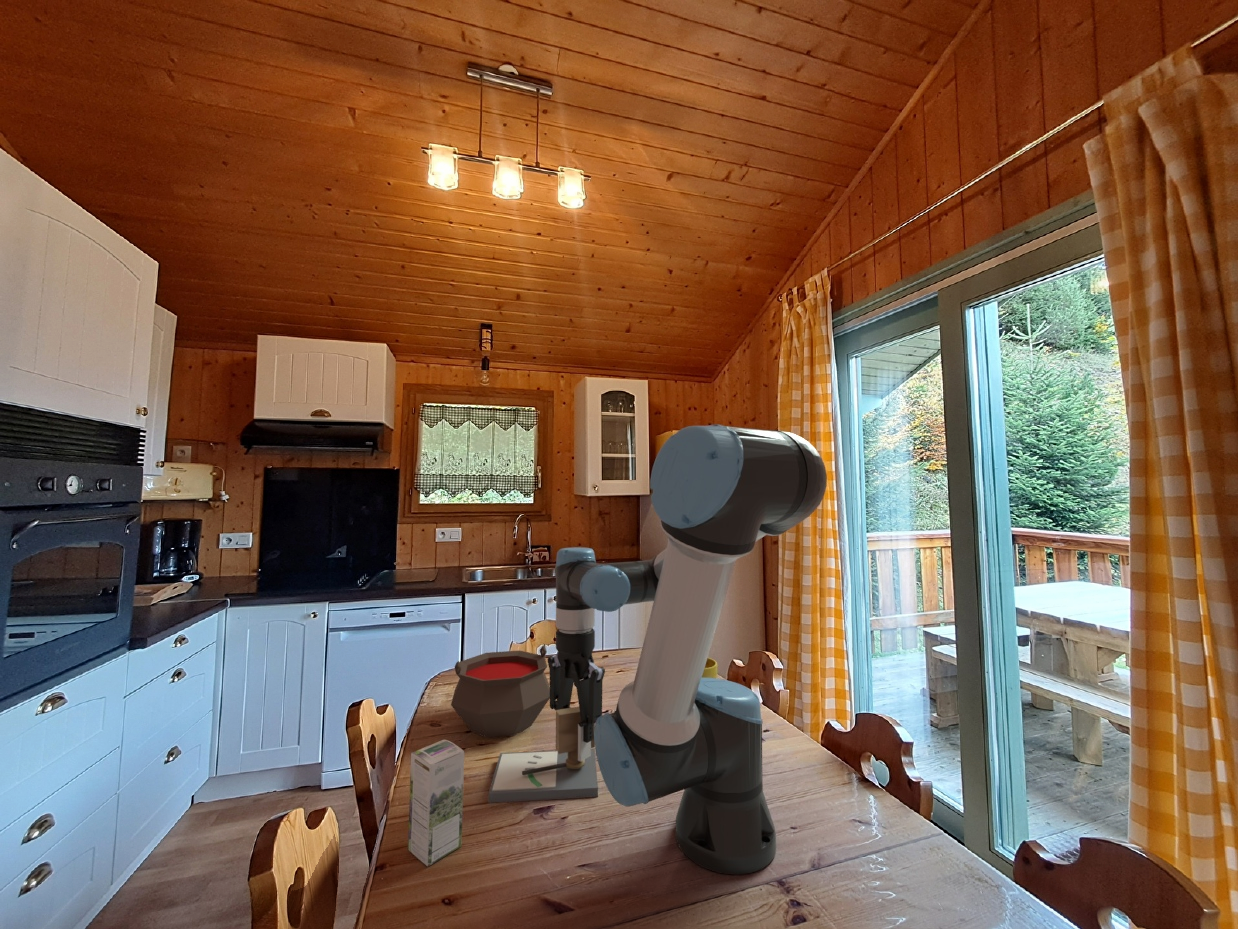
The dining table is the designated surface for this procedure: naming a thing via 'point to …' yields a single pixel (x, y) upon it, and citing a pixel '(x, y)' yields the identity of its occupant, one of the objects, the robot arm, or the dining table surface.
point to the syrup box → (436, 801)
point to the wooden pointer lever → (566, 740)
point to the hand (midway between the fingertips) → (575, 753)
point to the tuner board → (541, 778)
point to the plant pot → (710, 669)
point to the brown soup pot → (501, 691)
